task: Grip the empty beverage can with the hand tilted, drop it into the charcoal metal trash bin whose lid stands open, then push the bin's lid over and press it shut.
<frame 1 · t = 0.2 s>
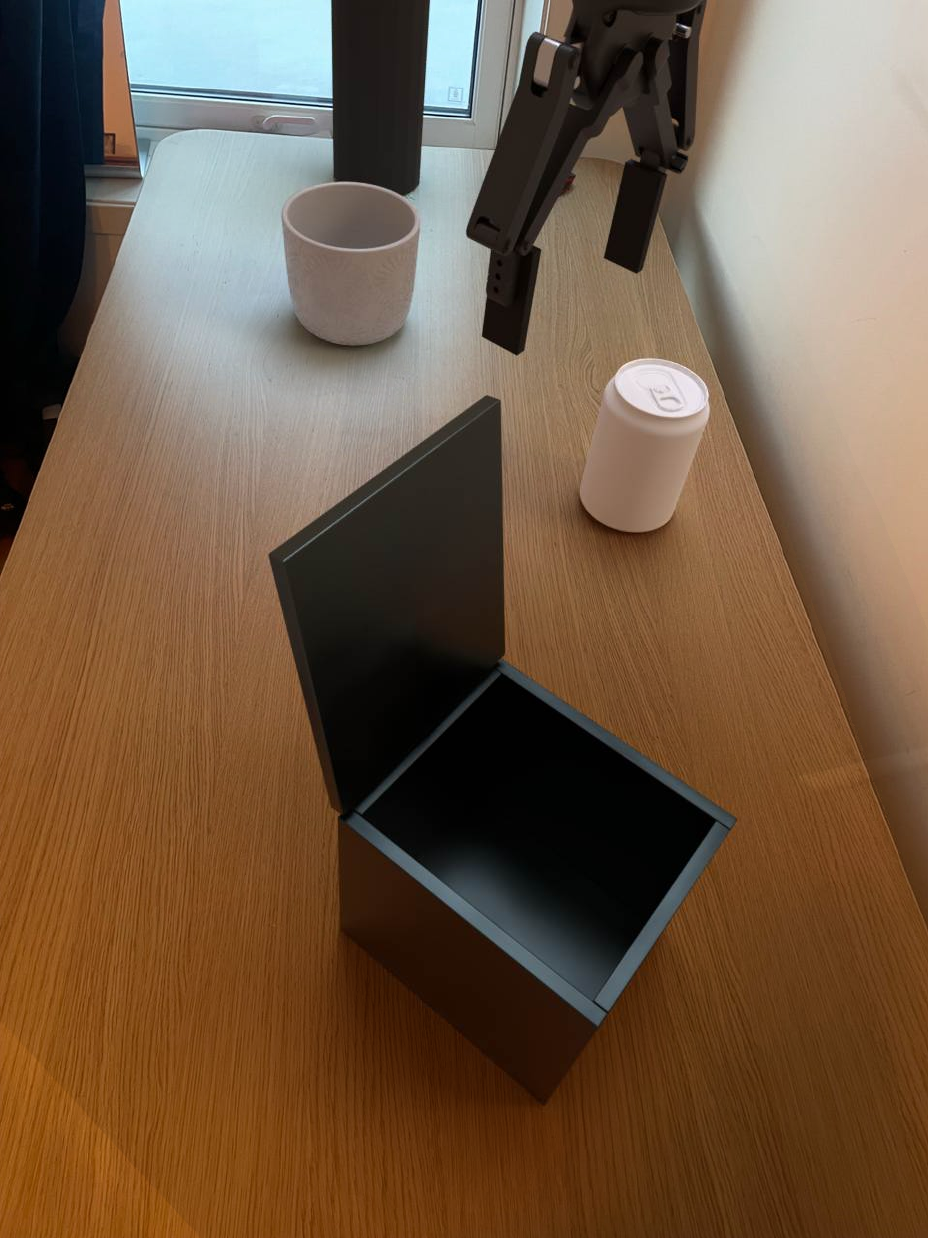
hand: (566, 301, 60), 21 cm above the table, tool pointing down, fingers open, 13 cm apart
planter: (351, 322, 92), on the table
beverage can: (624, 505, 79), on the table
bin lid: (411, 614, 41), point 22 cm above the table, hinge at 100.0°
computer mouse: (536, 193, 113), on the table
vase: (376, 179, 111), on the table
trash bin: (504, 927, 55), on the table
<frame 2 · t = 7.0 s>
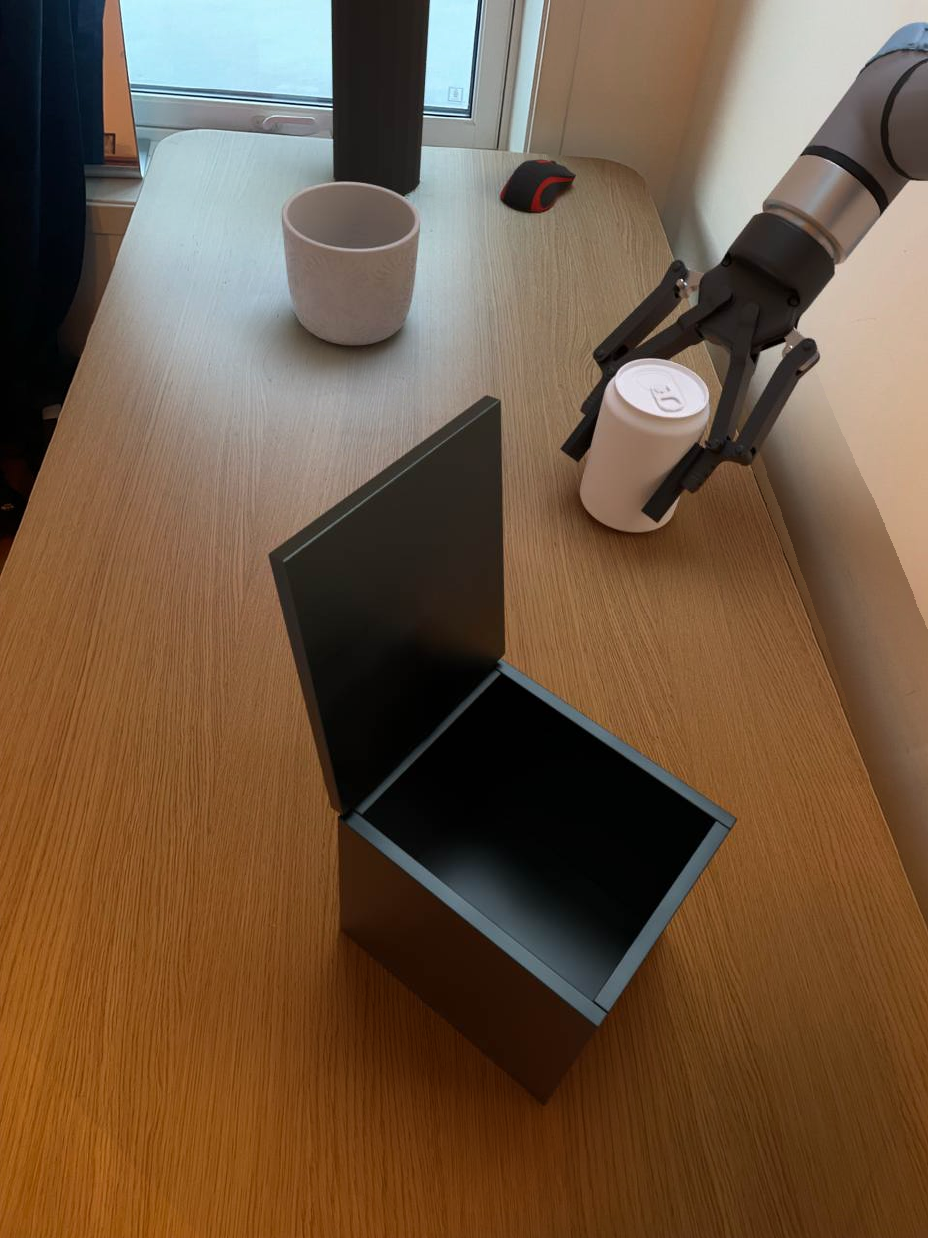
hand: (608, 485, 75), 4 cm above the table, tool tilted 45°, fingers closed on beverage can, 8 cm apart
beverage can: (624, 505, 79), on the table, touching gripper
everything else where it was.
when the fingers open (16 cm above the table, at t = 19.5 s): beverage can drops 11 cm, resting on trash bin.
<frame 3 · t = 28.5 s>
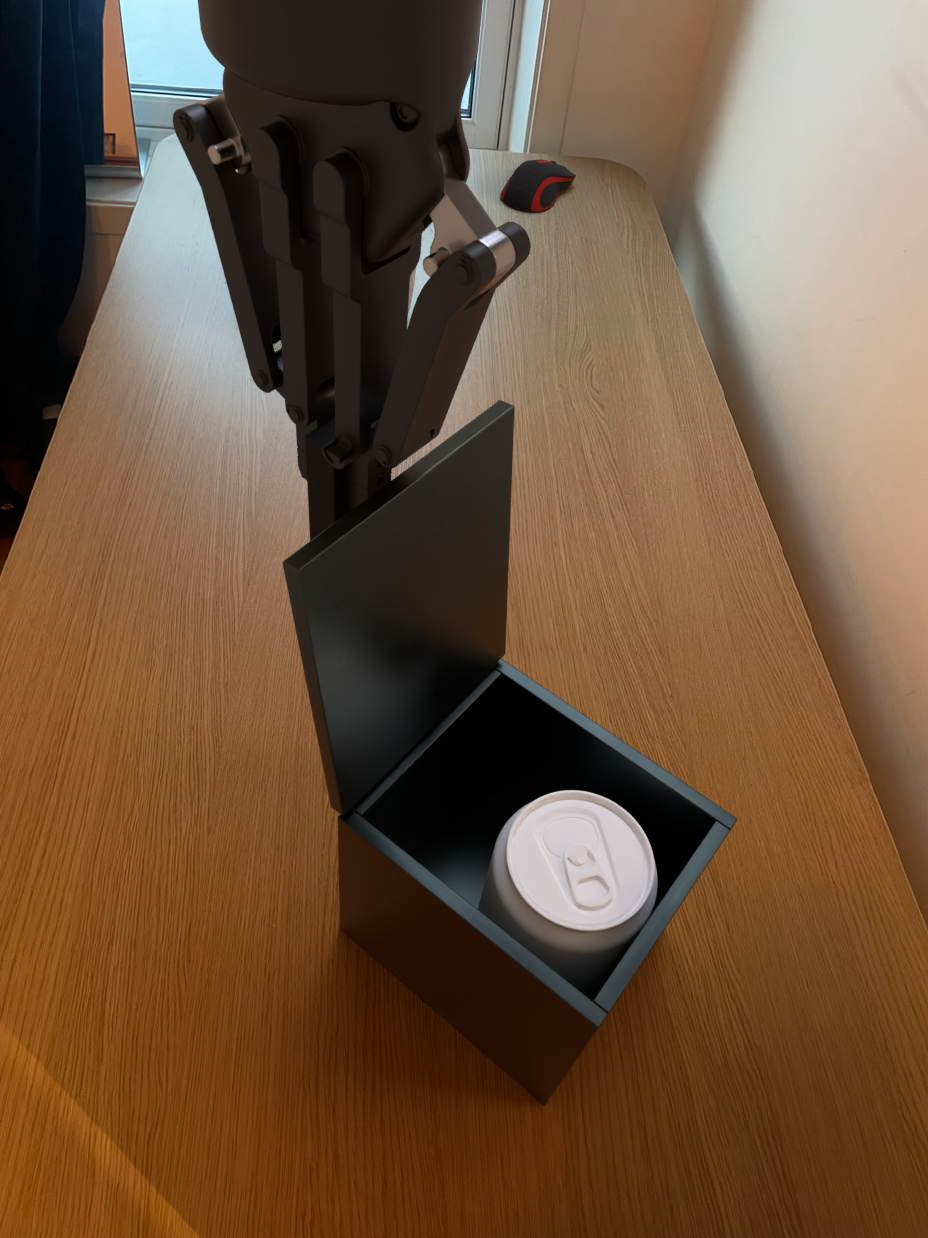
hand: (344, 544, 41), 23 cm above the table, tool pointing down, fingers closed
beverage can: (540, 949, 54), point 1 cm above the table, touching trash bin
bin lid: (417, 617, 41), point 22 cm above the table, hinge at 97.3°, touching gripper
everything else where it was.
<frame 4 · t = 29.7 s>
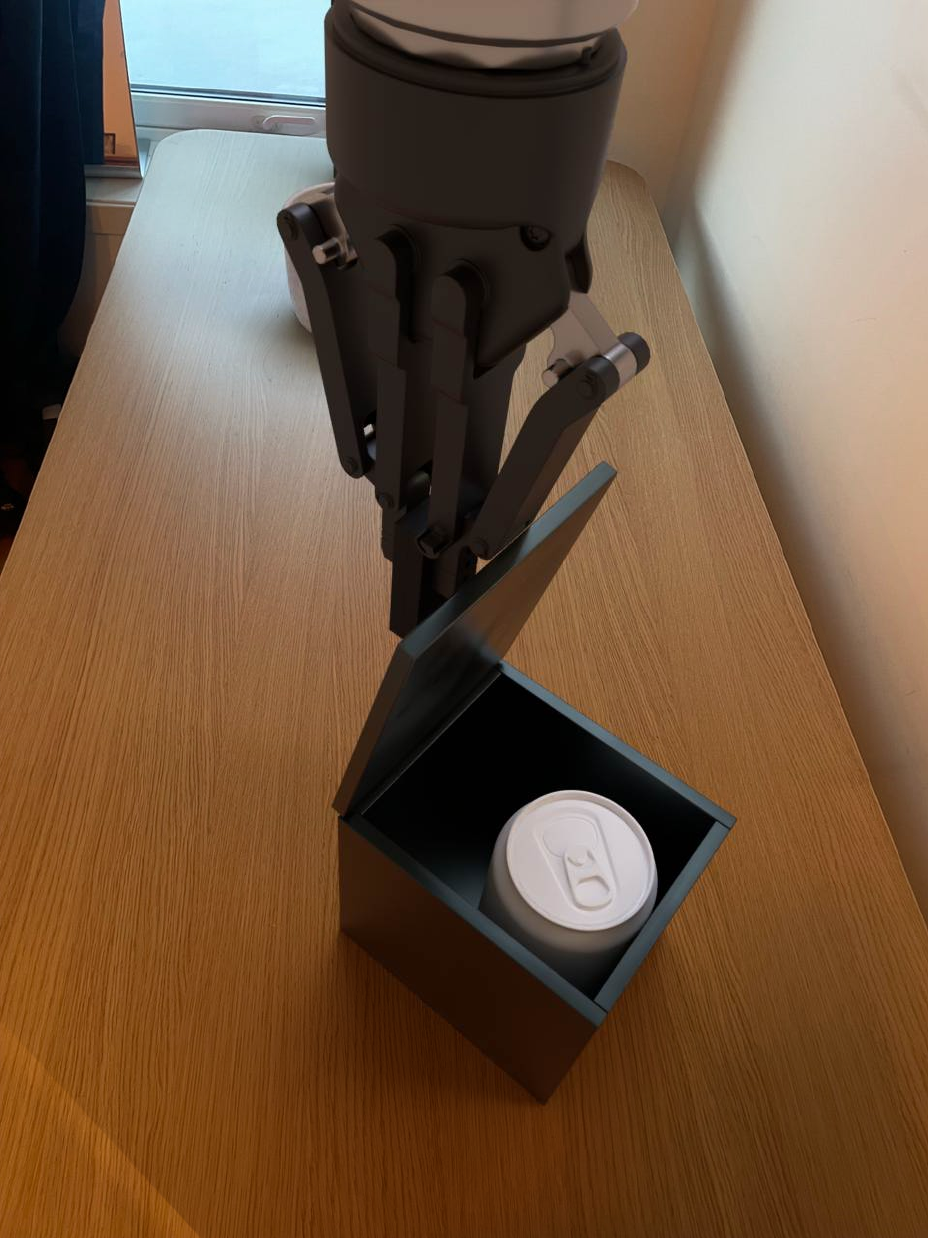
hand: (422, 620, 41), 22 cm above the table, tool pointing down, fingers closed
bin lid: (464, 651, 40), point 22 cm above the table, hinge at 77.8°, touching gripper
everything else where it was.
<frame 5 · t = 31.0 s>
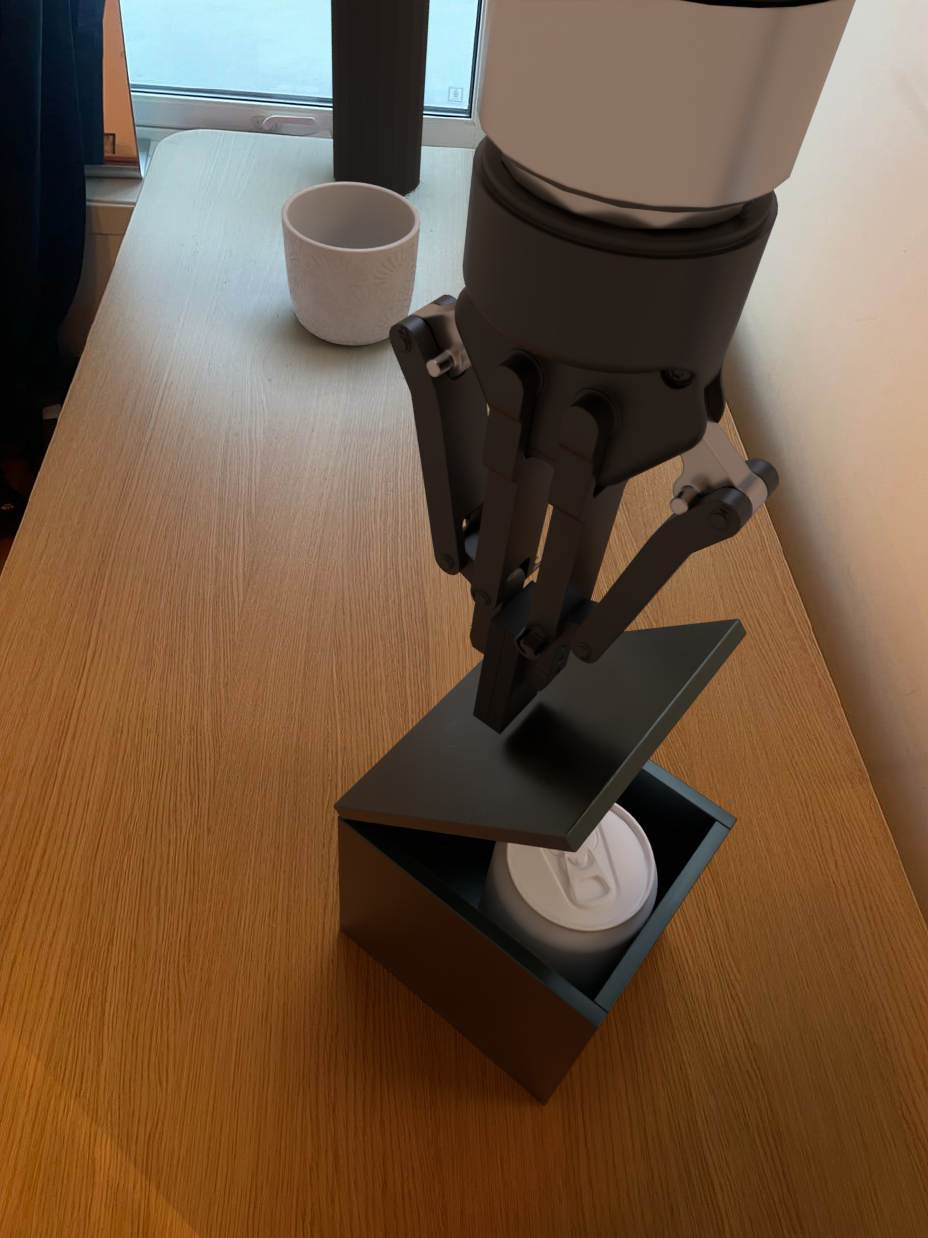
hand: (505, 704, 41), 20 cm above the table, tool pointing down, fingers closed
bin lid: (526, 725, 40), point 20 cm above the table, hinge at 46.2°, touching gripper
everything else where it was.
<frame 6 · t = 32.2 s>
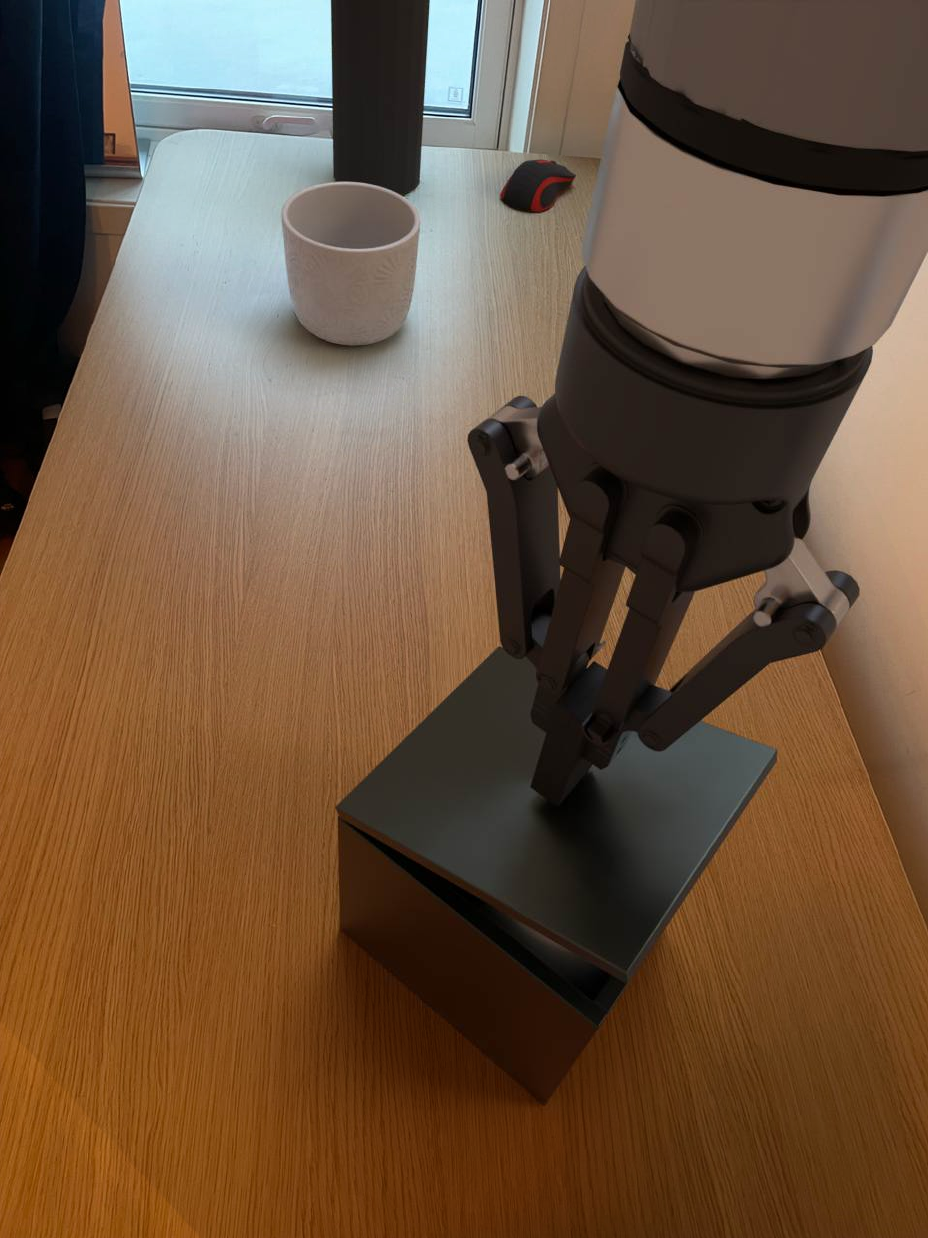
hand: (561, 776, 41), 18 cm above the table, tool pointing down, fingers closed
bin lid: (551, 784, 42), point 17 cm above the table, hinge at 20.1°, touching gripper
everything else where it was.
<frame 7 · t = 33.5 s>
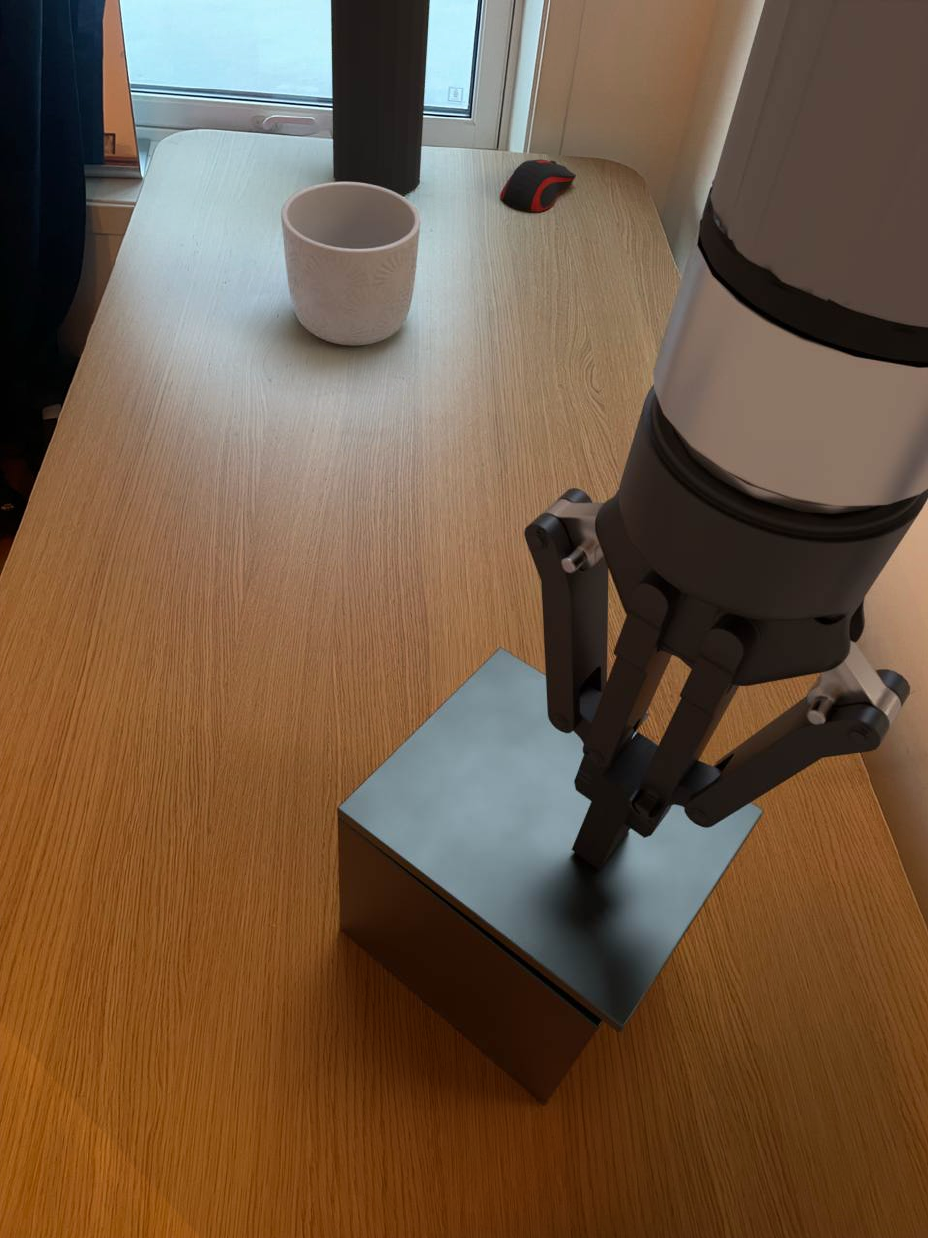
hand: (601, 838, 42), 16 cm above the table, tool pointing down, fingers closed
bin lid: (551, 813, 44), point 15 cm above the table, hinge at 3.5°, touching gripper
everything else where it was.
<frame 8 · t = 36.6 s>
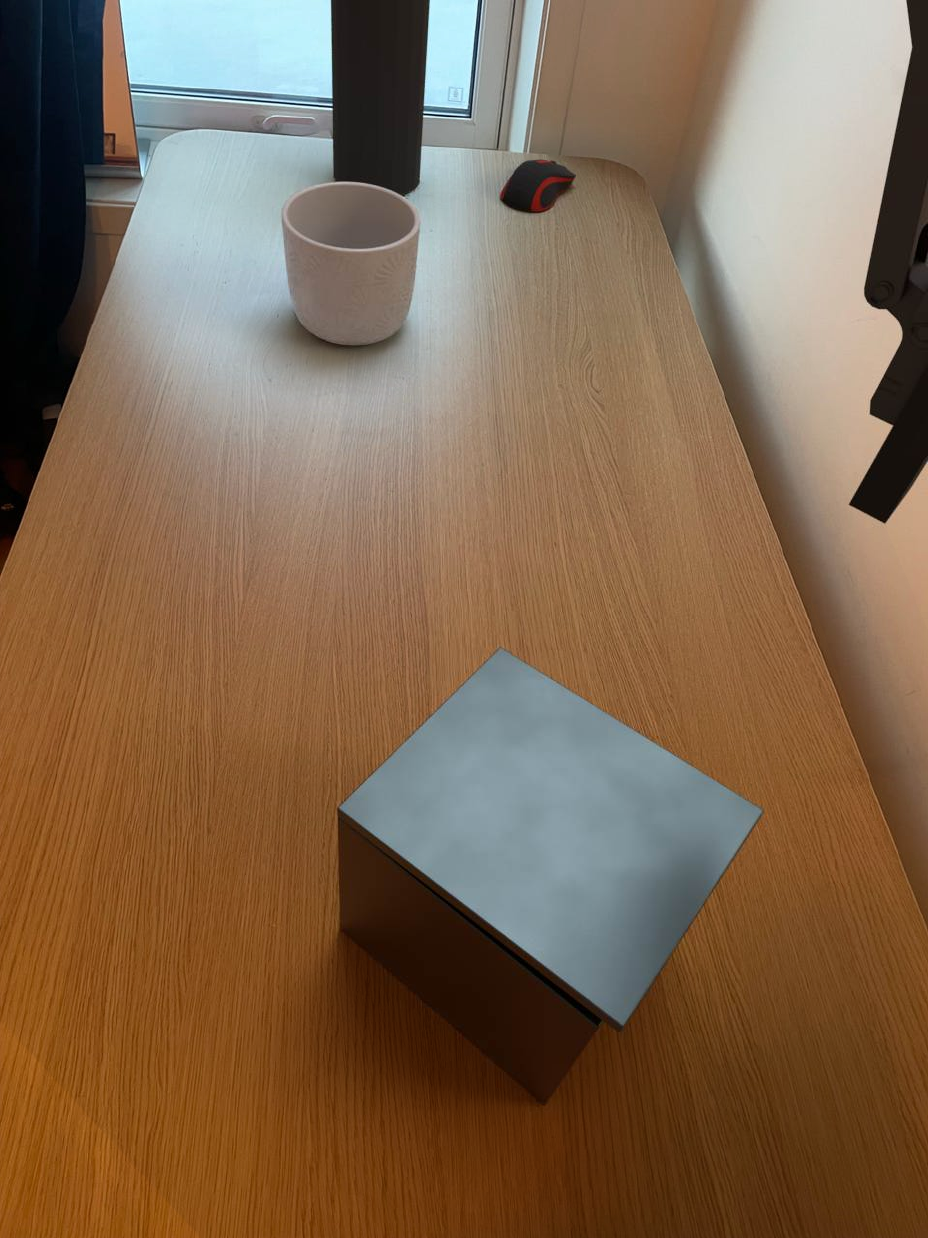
hand: (880, 495, 36), 30 cm above the table, tool pointing down, fingers closed
bin lid: (551, 813, 44), point 15 cm above the table, hinge at 3.5°
everything else where it was.
at the end: beverage can inside the target area in the trash bin (2.4 cm from its centre), point 0.6 cm above the trash bin's base; bin lid at +4° (first picture: +100°); the gripper is holding nothing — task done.
